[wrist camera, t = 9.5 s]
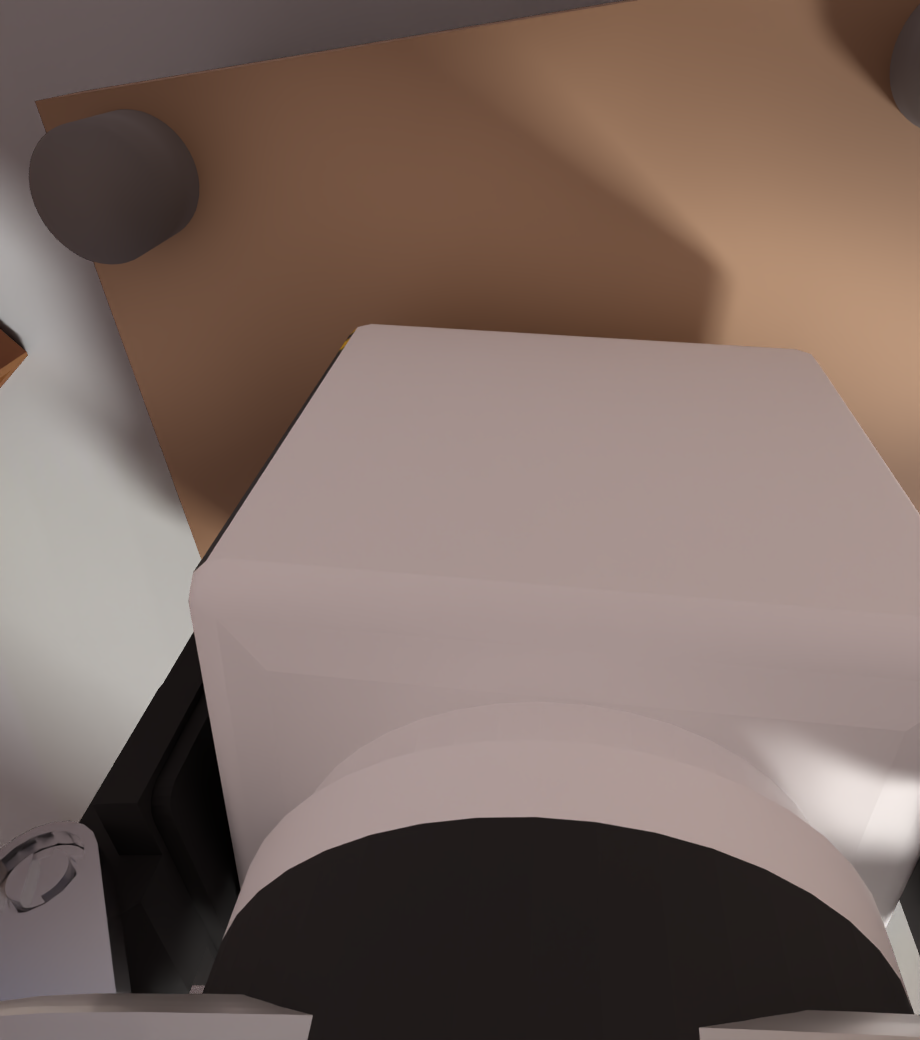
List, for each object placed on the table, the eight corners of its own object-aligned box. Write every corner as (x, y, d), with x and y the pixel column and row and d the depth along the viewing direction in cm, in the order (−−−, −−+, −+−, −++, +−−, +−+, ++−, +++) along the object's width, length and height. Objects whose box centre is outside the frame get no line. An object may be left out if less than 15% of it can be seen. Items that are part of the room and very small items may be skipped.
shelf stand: (849, 580, 24) (960, 812, 17) (338, 608, 27) (259, 819, 20) (917, -54, 16) (1163, -85, 10) (189, 68, 19) (-21, 112, 12)
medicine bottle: (350, 315, 13) (-351, 1328, 3) (818, 342, 13) (1775, 1689, 3) (366, 663, 17) (66, 1636, 7) (729, 696, 17) (979, 1813, 6)
